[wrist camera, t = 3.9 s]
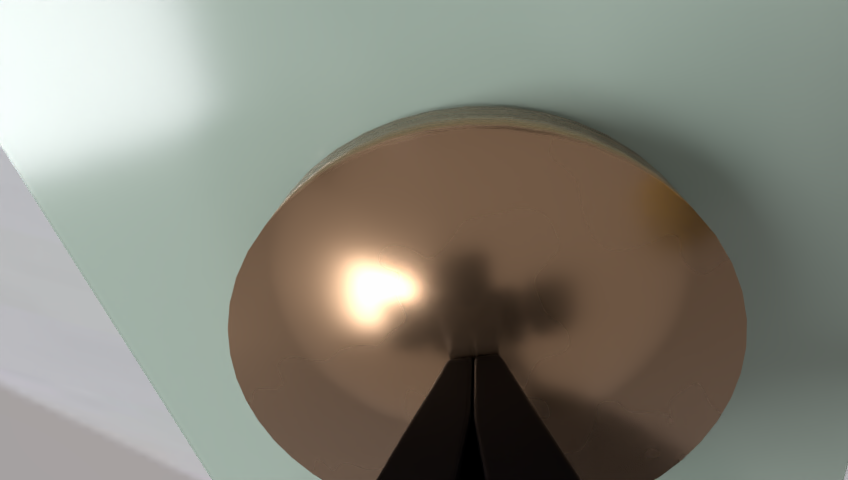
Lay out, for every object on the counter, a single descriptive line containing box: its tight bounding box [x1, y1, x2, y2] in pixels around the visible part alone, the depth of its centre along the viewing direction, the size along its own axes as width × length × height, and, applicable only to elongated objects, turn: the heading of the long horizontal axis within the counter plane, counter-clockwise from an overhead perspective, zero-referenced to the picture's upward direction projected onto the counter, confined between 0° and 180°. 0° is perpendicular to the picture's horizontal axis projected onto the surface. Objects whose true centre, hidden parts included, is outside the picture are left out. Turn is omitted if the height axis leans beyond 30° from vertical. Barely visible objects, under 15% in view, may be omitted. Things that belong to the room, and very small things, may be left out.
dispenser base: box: [0, 0, 848, 480], centre depth 11 cm, size 14×14×5 cm
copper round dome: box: [228, 106, 747, 480], centre depth 10 cm, size 8×8×5 cm
